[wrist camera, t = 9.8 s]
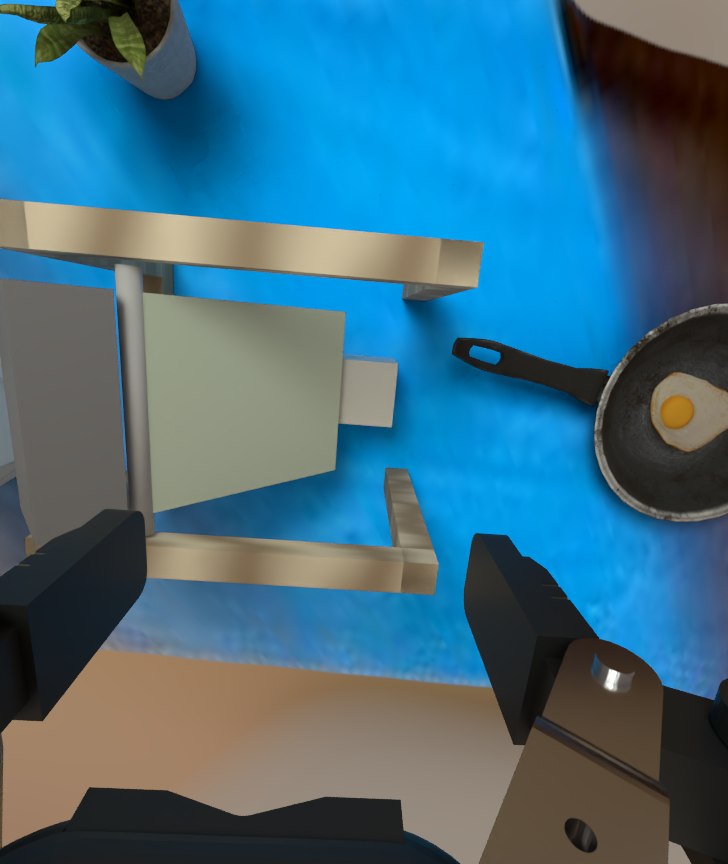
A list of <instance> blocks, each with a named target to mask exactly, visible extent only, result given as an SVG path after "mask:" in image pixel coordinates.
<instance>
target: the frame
mask: <svg viewBox="0 0 728 864" xmlns="http://www.w3.org/2000/svg"><path fill="white" fill-rule="evenodd" d="M483 244H484V242H473V241H462V240H450V239H439V238H428V237H417V236H406V235H395V234H384V233H373V232H361V231H350V230H339V229H328V228H317V227H306V226H295V225H283V224H272V223H261V222H250V221H239V220H228V219H217V218H205V217H194V216H183V215H172V214H161V213H150V212H139V211H127V210H116V209H105V208H94V207H83V206H72V205H61V204H50V203H38V202H27V201H16V200H5V199H0V248H2V249H7V250H12V251H17V252H22V253H28V254H33V255H38V256H43V257H48V258H53V259H58V260H63V261H68V262H73V263H78V264H83V265H88V266H93V267H98V268H103V269H108V270H113V271H115V266H114V264H125V265H133V266H139V267H142V272H143V292H144V293H153V294H164V295H174V291H173V264H177V265H188V266H200V267H211V268H223V269H235V270H246V271H258V272H270V273H281V274H293V275H305V276H316V277H328V278H340V279H351V280H363V281H375V282H386V283H398V284H404V286H403V296H402V299H407V300H419V301H428V300H432V299H436V298H439V297H443V296H447V295H451V294H454V293H458V292H462V291H466V290H469V289H473V288H477V287H478V280H479V272H480V265H481V258H482V251H483ZM125 476H126V492H127V507H128V510H130V501H129V486H128V470H127V471H126V472H125ZM384 493H385V499H386V506H387V512H388V518H389V525H390V531H391V538H392V544H393V547H383V546H367V545H352V544H336V543H320V542H305V541H289V540H274V539H258V538H243V537H227V536H212V535H196V534H180V533H165V532H154V533H153V534H151V535H148V536H146V553H147V578H162V579H178V580H195V581H212V582H228V583H245V584H261V585H278V586H294V587H311V588H327V589H344V590H360V591H377V592H393V593H410V594H426V595H435V587H436V580H437V573H438V566H439V564H438V561H437V558H436V555H435V552H434V549H433V546H432V543H431V540H430V537H429V534H428V531H427V528H426V525H425V522H424V519H423V516H422V513H421V510H420V507H419V504H418V501H417V498H416V495H415V492H414V489H413V485H412V482H411V479H410V476H409V473H408V470H407V469H398V468H386V469H385V480H384ZM24 541H25V549H26V556H27V557H28V556H30V555H31V554H35V551H37V550H38V549H39V548H41V547H42V546H43V545H41V546H37V547H36V546H35V543H34V541H33V538H32V536H31V534H30V535H28V536H27V537H25V538H24Z"/></svg>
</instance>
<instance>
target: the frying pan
mask: <svg viewBox="0 0 728 864" xmlns="http://www.w3.org/2000/svg"><path fill="white" fill-rule="evenodd" d="M473 345H474V346H479V347H483V348H487V349H491V350H494V351H497V352H500V355H501V358H500V361H499V362H498V363H497V364H496V365H494V364H490V363H487V362H483V361H480V360H478V359H475V358H472V357H470V356H469V351H470V348H471V347H472V346H473ZM452 355H454V356H456V357H457V358H459V359H461V360H463V361H464V362H466V363H468V364H470V365H472V366H474V367H476V368H478V369H481V370H483V371H487V372H491V373H496V374H500V375H504V376H509V377H513V378H518V379H522V380H527V381H531V382H535V383H539V384H542V385H545V386H548V387H551V388H554V389H558V390H561V391H564V392H567V393H568V394H570V395H571V396H573V397H575V398H576V399H578V400H579V401H581V402H583V403H585V404H587V405H589V406H592V407H594V404H595V403H599V406H598V409H597V413H596V421H595V429H594V438H595V451H596V456H597V459H598V462H599V466H600V469H601V472H602V474H603V475H604V477H605V479H606V481H607V482H608V484H609V486H610V487H611V489H612V490H613V491H614V492H615V493H616V494H617V495H618V496H619V497H620V498H621V499H622V500H623V501H624V502H625V503H627V504H628V505H630V506H631V507H633V508H634V509H636V510H637V511H639V512H641V513H643V514H646V515H649V516H651V517H654V518H656V519H662V520H668V521H674V522H695V521H702V520H707V519H712V518H717V517H720V516H722V515H725V514H728V304H714V305H710V306H705V307H701V308H696V309H692V310H690V311H687V312H685V313H683V314H680V315H678V316H676V317H673V318H671V319H669V320H667V321H666V322H664V323H663V324H661V325H660V326H658V327H657V328H655V329H653V330H652V331H650V332H649V333H648V334H647V335H645V336H644V337H643V338H642V339H641V340H640V341H639V342H638V343H637V344H636V345H635V346H633V347H632V348H631V349H630V350H629V352H628V353H627V354H626V355H625V357H624V358H623V359H622V361H621V362H620V363H619V364H618V366H617V367H616V368H615V370H614V372H613V373H612V375H611V377H610V376H607V374H608V372H609V371H608V370H602V369H592V368H574V367H570V366H567V365H563V364H559V363H556V362H552V361H548V360H545V359H542V358H540V357H537V356H534V355H531V354H528V353H526V352H523V351H520V350H517V349H515V348H512V347H509V346H506V345H504V344H501V343H498V342H495V341H491V340H486V339H476V338H457V339H456V341H455V343H454V345H453V349H452Z"/></svg>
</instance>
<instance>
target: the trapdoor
mask: <svg viewBox="0 0 728 864" xmlns="http://www.w3.org/2000/svg"><path fill="white" fill-rule="evenodd" d="M114 266H115V281H116V297H117V313H118V329H119V344H120V360H121V376H122V391H123V407H124V423H125V439H126V454H127V470H128V486H129V501H130V510H136V511H141V512H142V514H143V516H144V520H145V535H146V536H148V535H151V534H153V533H154V532H155V520H154V513H156V512H160V511H165V510H169V509H173V508H177V507H181V506H186V505H190V504H194V503H198V502H203V501H207V500H211V499H215V498H219V497H224V496H228V495H232V494H236V493H241V492H245V491H249V490H253V489H257V488H262V487H266V486H270V485H274V484H278V483H283V482H287V481H291V480H295V479H300V478H304V477H308V476H312V475H316V474H321V473H325V472H329V471H333V470H335V466H336V450H337V435H338V420H339V405H340V390H341V375H342V360H343V345H344V330H345V315H346V312H340V311H330V310H319V309H309V308H299V307H288V306H278V305H267V304H257V303H247V302H236V301H226V300H216V299H205V298H195V297H184V296H174V295H164V294H153V293H144V292H143V272H142V267H139V266H133V265H125V264H114ZM0 358H1V366H2V373H3V381H4V388H5V396H6V403H7V411H8V418H9V426H10V433H11V440H12V448H13V455H14V463H15V470H16V478H17V485H18V493H19V500H20V508H21V511H22V513H23V516H24V518H25V521H26V523H27V526H28V528H29V531H30V533H31V536H32V538H33V541H34V543H35V546H36V547H37V546H41V545H45V544H46V543H48V542H49V541H50V540H52V539H53V538H55V537H58V536H60V535H62V534H65V533H67V532H69V531H72V530H74V529H76V528H80V527H81V526H83V525H84V524H85V523H87V522H88V521H89V520H91V519H92V518H93V517H94V516H96V515H97V514H98V513H100V512H101V511H102V510H104V509H120V510H128V507H127V492H126V476H125V461H124V446H123V430H122V415H121V400H120V384H119V369H118V354H117V338H116V323H115V308H114V292H113V289H104V288H94V287H83V286H73V285H62V284H52V283H42V282H31V281H21V280H11V279H0Z"/></svg>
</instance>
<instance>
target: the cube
mask: <svg viewBox="0 0 728 864" xmlns="http://www.w3.org/2000/svg"><path fill="white" fill-rule="evenodd" d="M397 371H398V363H397V362H396V361H395V360H394V359H393V358H386V357H373V356H361V355H349V354H343V360H342V375H341V390H340V405H339V420H338V423H339V424H353V425H366V426H379V427H392V421H393V411H394V401H395V391H396V381H397Z"/></svg>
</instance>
